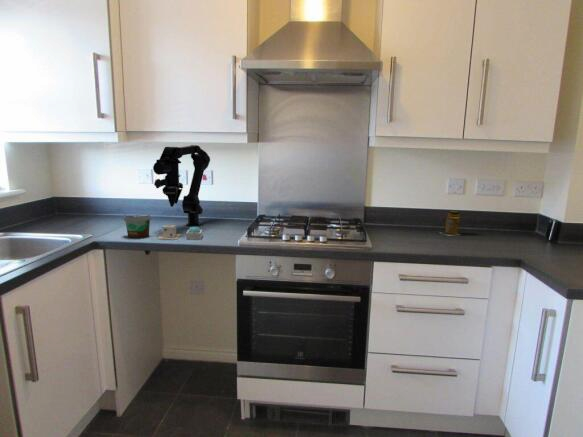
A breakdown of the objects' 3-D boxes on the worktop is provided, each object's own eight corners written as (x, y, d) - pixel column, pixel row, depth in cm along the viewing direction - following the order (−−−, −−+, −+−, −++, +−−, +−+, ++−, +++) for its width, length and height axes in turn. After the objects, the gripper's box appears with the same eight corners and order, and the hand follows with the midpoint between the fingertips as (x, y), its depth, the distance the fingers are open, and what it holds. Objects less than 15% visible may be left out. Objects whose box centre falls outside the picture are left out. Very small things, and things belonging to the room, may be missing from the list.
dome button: (190, 234, 175) (190, 226, 174) (199, 234, 175) (199, 226, 174) (188, 237, 170) (188, 228, 169) (198, 237, 171) (198, 228, 170)
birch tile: (162, 234, 177) (162, 233, 177) (181, 234, 178) (181, 233, 178) (157, 239, 168) (157, 238, 168) (177, 239, 169) (177, 238, 169)
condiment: (461, 234, 192) (464, 212, 190) (449, 236, 188) (452, 213, 186) (449, 231, 198) (452, 209, 196) (438, 233, 195) (440, 210, 192)
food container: (120, 238, 168) (118, 216, 166) (125, 235, 174) (124, 214, 172) (147, 238, 169) (146, 217, 166) (152, 235, 175) (151, 214, 173)
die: (165, 234, 175) (165, 224, 174) (176, 234, 176) (175, 224, 175) (162, 237, 170) (162, 226, 169) (174, 237, 171) (173, 226, 170)
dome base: (188, 235, 176) (188, 229, 175) (202, 235, 176) (202, 229, 176) (186, 239, 169) (186, 233, 169) (200, 239, 170) (200, 233, 169)
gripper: (160, 171, 187) (161, 201, 190) (150, 174, 169) (152, 208, 172) (182, 171, 188) (183, 202, 191) (175, 175, 170) (176, 208, 173)
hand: (173, 205), depth 182 cm, fingers open, 9 cm apart
